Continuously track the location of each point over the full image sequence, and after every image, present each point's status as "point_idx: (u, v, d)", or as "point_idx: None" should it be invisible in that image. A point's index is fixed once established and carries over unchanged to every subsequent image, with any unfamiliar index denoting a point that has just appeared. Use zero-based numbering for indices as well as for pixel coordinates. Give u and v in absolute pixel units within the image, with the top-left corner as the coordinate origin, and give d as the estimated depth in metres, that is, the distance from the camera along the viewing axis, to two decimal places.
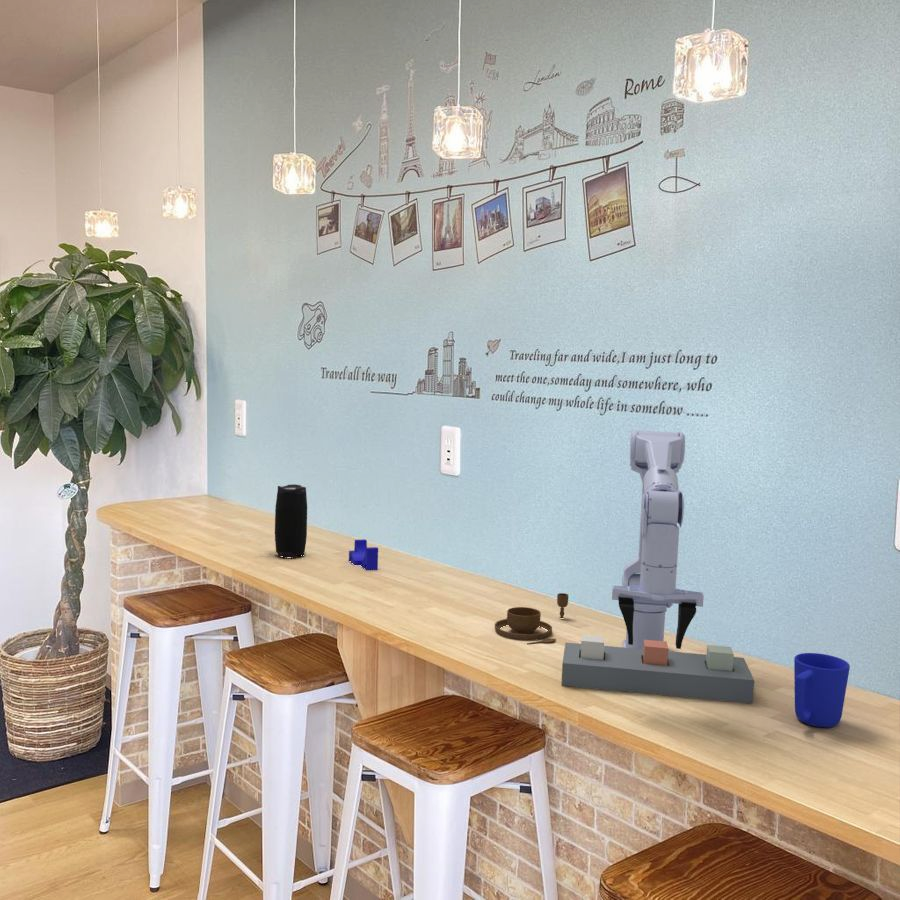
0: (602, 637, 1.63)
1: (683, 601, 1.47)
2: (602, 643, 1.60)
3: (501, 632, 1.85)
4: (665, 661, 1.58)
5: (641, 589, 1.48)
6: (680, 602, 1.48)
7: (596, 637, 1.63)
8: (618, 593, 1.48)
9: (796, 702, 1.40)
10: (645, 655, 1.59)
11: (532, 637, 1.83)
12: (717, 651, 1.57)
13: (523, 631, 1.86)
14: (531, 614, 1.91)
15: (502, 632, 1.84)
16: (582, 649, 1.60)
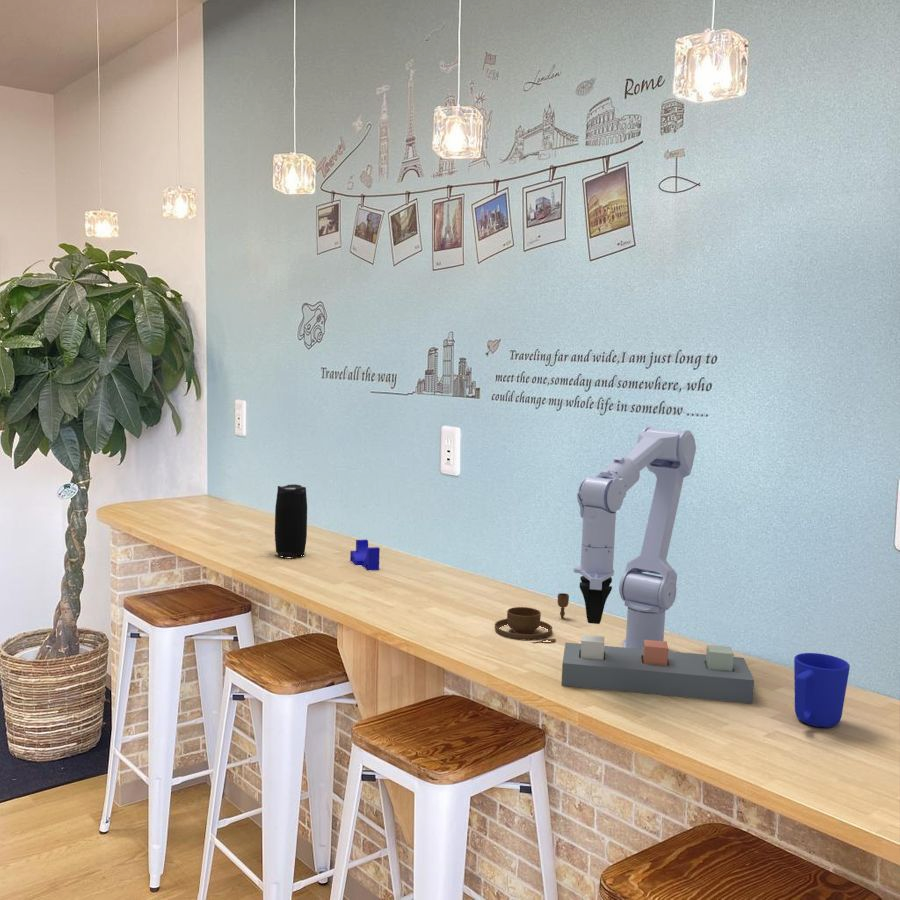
0: (602, 637, 1.63)
1: None
2: (602, 643, 1.60)
3: (501, 632, 1.85)
4: (665, 661, 1.58)
5: None
6: None
7: (596, 637, 1.63)
8: None
9: (796, 702, 1.40)
10: (645, 655, 1.59)
11: (532, 637, 1.83)
12: (717, 651, 1.57)
13: (523, 631, 1.86)
14: (531, 614, 1.91)
15: (502, 632, 1.85)
16: (582, 649, 1.60)
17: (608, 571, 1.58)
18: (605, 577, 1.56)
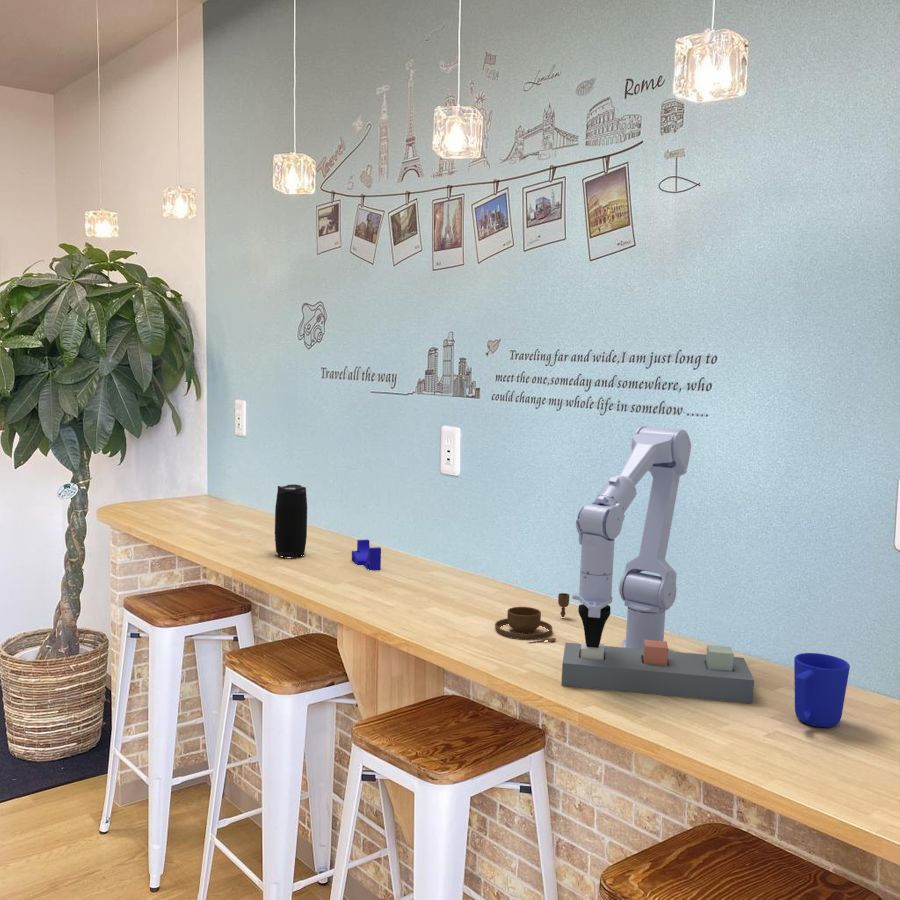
0: (602, 645, 1.63)
1: None
2: (602, 651, 1.60)
3: (501, 631, 1.85)
4: (665, 661, 1.58)
5: None
6: None
7: None
8: None
9: (796, 702, 1.40)
10: (645, 655, 1.59)
11: (532, 637, 1.83)
12: (717, 651, 1.57)
13: (523, 631, 1.86)
14: (531, 614, 1.91)
15: (502, 632, 1.85)
16: (582, 657, 1.61)
17: (607, 598, 1.59)
18: (603, 604, 1.56)
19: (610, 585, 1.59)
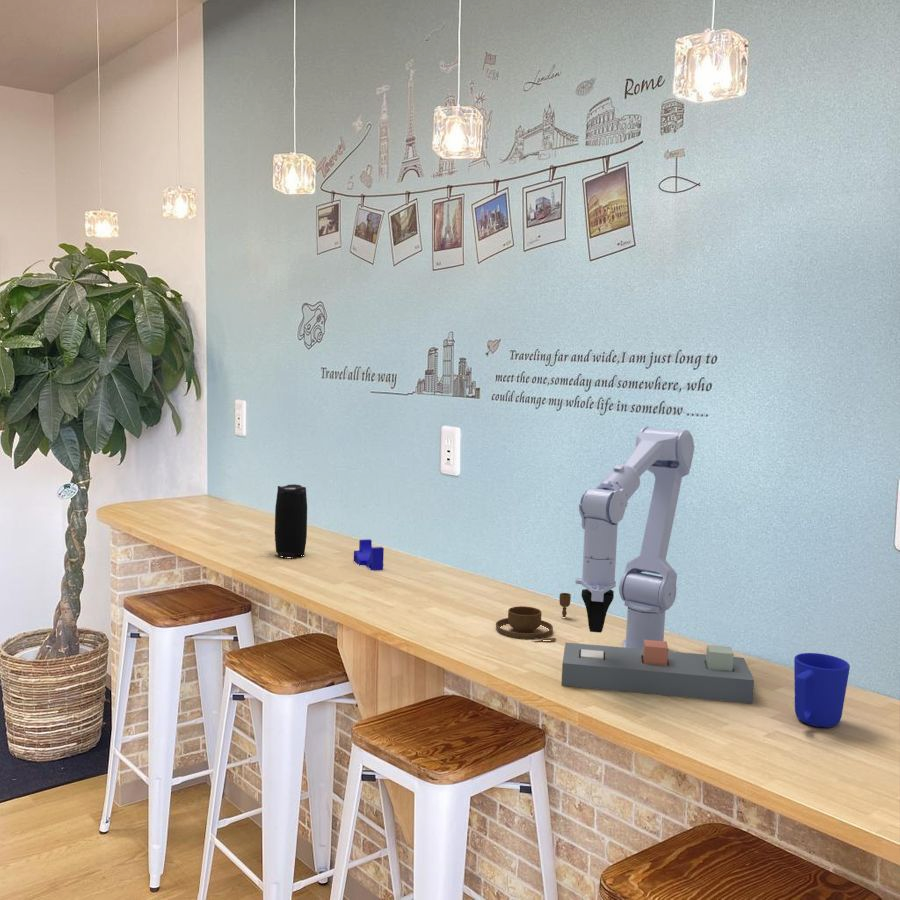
0: (601, 652, 1.63)
1: None
2: (601, 658, 1.60)
3: (502, 631, 1.86)
4: (665, 661, 1.58)
5: None
6: None
7: (595, 652, 1.63)
8: None
9: (796, 702, 1.40)
10: (645, 655, 1.59)
11: (532, 636, 1.84)
12: (717, 651, 1.57)
13: (524, 630, 1.87)
14: (532, 613, 1.91)
15: (503, 631, 1.85)
16: None
17: (610, 582, 1.59)
18: (607, 589, 1.56)
19: (613, 569, 1.59)
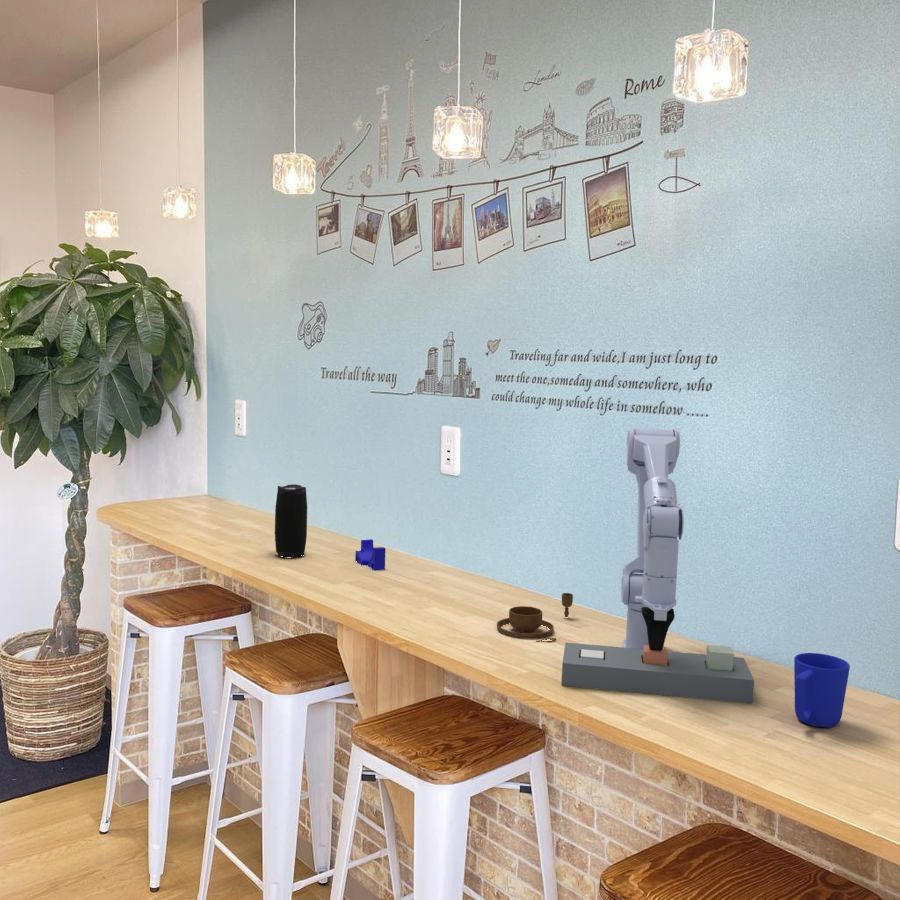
0: (601, 652, 1.63)
1: None
2: (601, 658, 1.60)
3: (502, 631, 1.86)
4: None
5: None
6: None
7: (595, 652, 1.63)
8: None
9: (796, 702, 1.40)
10: (645, 661, 1.59)
11: (532, 636, 1.84)
12: (717, 651, 1.57)
13: (524, 630, 1.87)
14: (534, 613, 1.92)
15: (503, 631, 1.86)
16: None
17: (671, 601, 1.57)
18: (669, 607, 1.55)
19: (674, 588, 1.57)
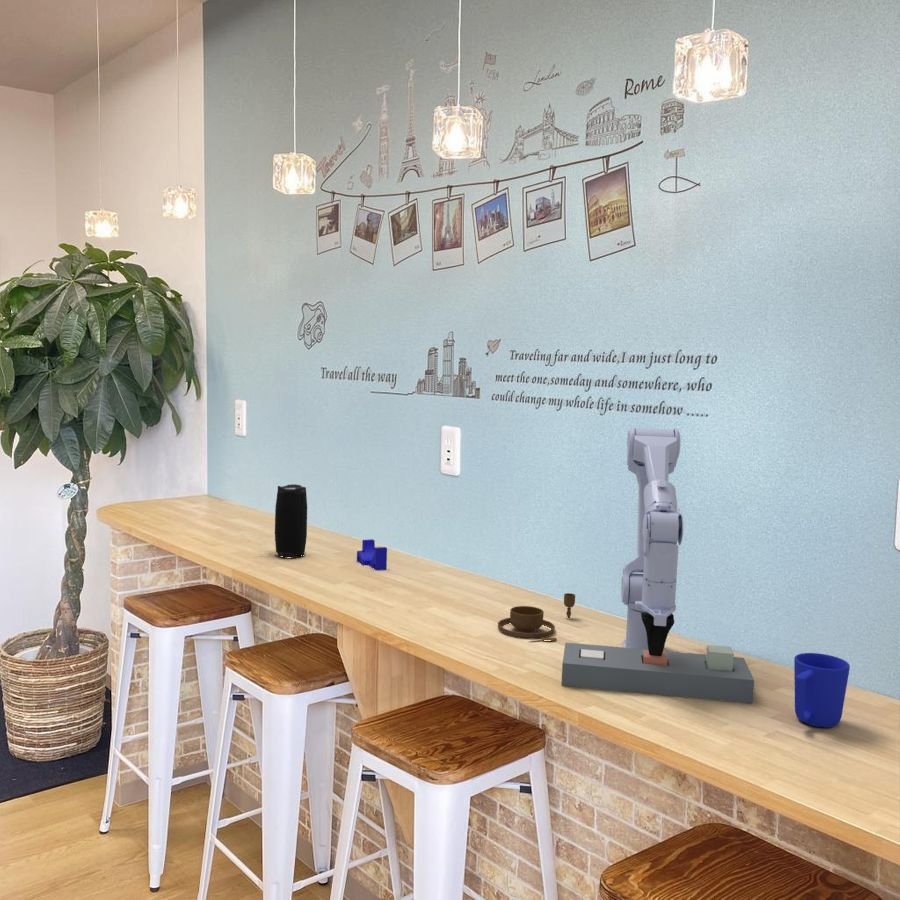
0: (601, 652, 1.63)
1: None
2: (601, 658, 1.60)
3: (503, 630, 1.86)
4: None
5: None
6: None
7: (595, 652, 1.63)
8: None
9: (796, 702, 1.40)
10: None
11: (533, 636, 1.84)
12: (717, 651, 1.57)
13: (525, 630, 1.87)
14: (535, 613, 1.92)
15: (504, 630, 1.86)
16: None
17: (671, 606, 1.57)
18: (669, 613, 1.55)
19: (674, 593, 1.58)
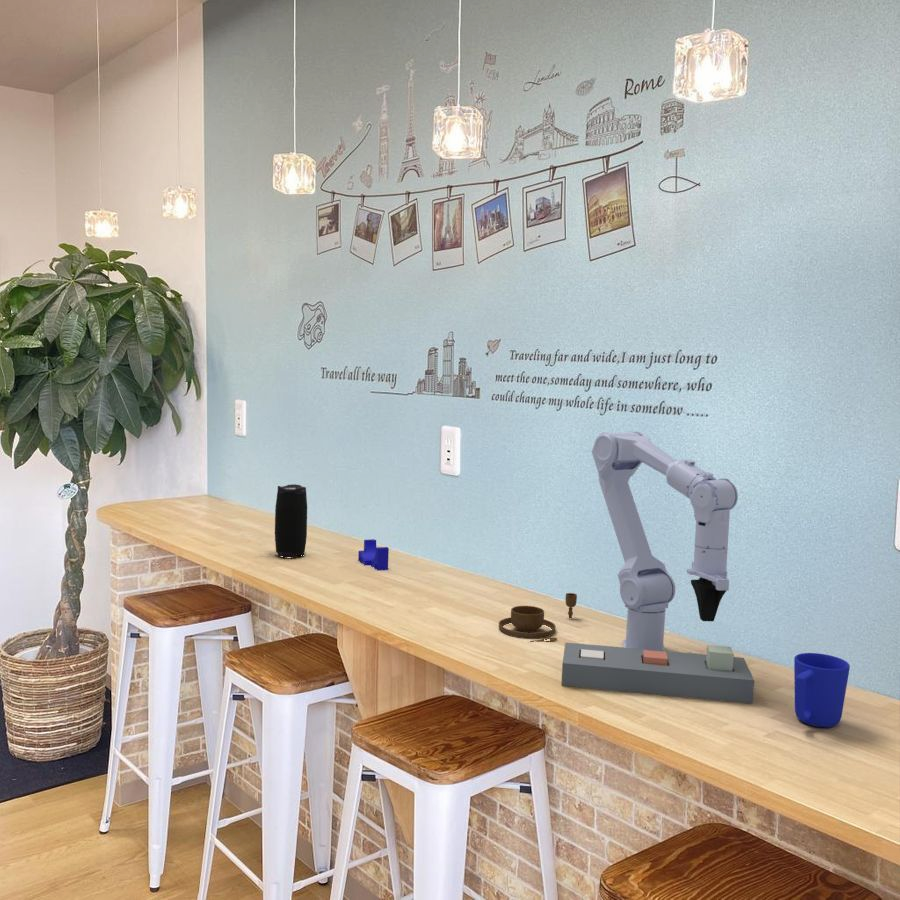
0: (601, 652, 1.63)
1: (714, 583, 1.59)
2: (601, 658, 1.60)
3: (503, 630, 1.87)
4: None
5: None
6: (715, 584, 1.60)
7: (595, 652, 1.63)
8: (693, 566, 1.69)
9: (796, 702, 1.40)
10: None
11: (533, 635, 1.84)
12: (717, 651, 1.57)
13: (526, 629, 1.87)
14: (536, 613, 1.92)
15: (504, 630, 1.86)
16: None
17: (724, 571, 1.61)
18: None
19: (726, 558, 1.62)
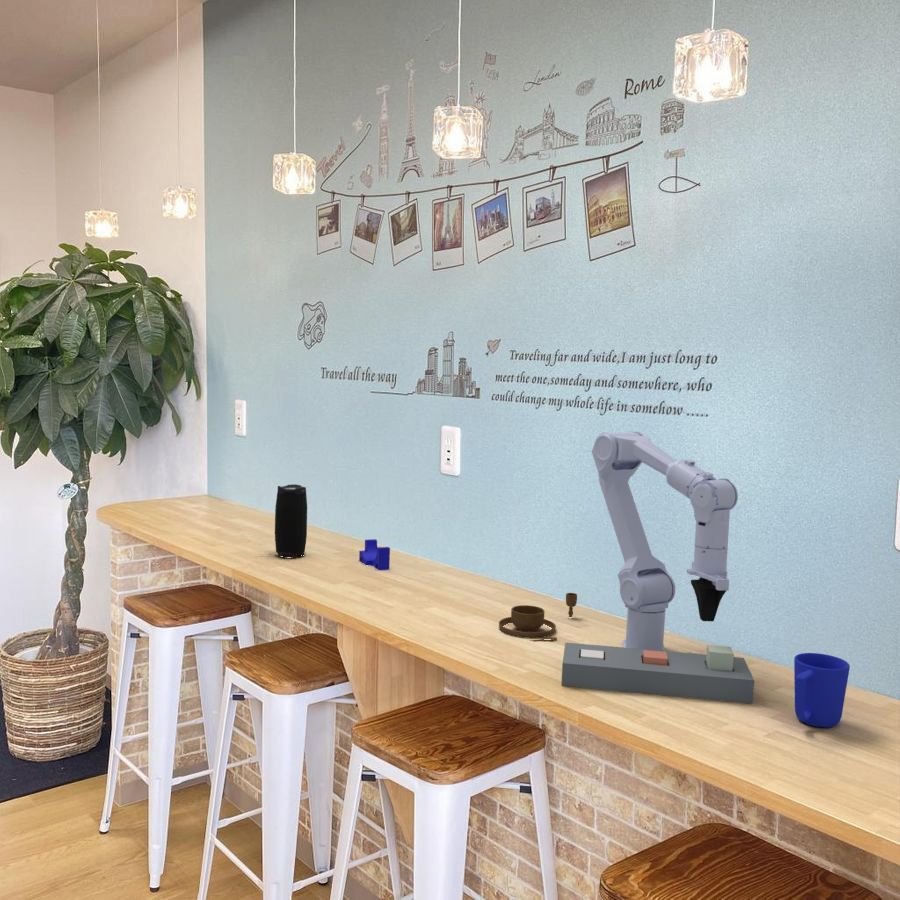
0: (601, 652, 1.63)
1: (714, 583, 1.59)
2: (601, 658, 1.60)
3: (503, 629, 1.87)
4: None
5: None
6: (715, 584, 1.60)
7: (595, 652, 1.63)
8: (693, 566, 1.69)
9: (796, 702, 1.40)
10: None
11: (533, 635, 1.84)
12: (717, 651, 1.57)
13: (526, 629, 1.87)
14: (536, 612, 1.92)
15: (505, 629, 1.87)
16: None
17: (724, 571, 1.61)
18: None
19: (726, 558, 1.62)
